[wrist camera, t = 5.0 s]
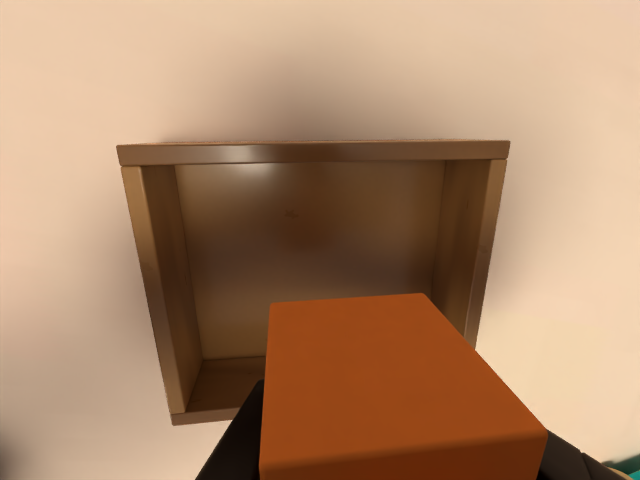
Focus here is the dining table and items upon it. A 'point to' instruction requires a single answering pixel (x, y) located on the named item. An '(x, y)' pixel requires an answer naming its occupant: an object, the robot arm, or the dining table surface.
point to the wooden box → (299, 243)
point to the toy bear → (386, 397)
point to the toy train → (633, 479)
